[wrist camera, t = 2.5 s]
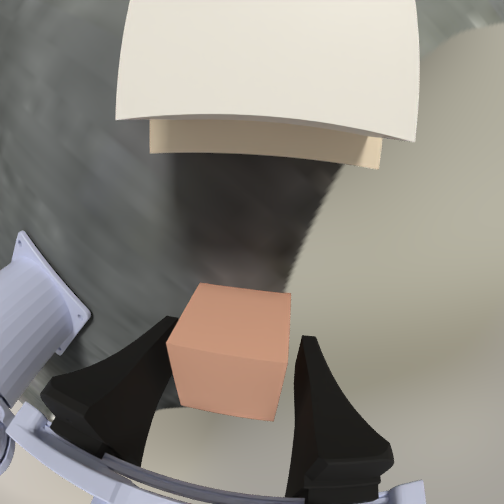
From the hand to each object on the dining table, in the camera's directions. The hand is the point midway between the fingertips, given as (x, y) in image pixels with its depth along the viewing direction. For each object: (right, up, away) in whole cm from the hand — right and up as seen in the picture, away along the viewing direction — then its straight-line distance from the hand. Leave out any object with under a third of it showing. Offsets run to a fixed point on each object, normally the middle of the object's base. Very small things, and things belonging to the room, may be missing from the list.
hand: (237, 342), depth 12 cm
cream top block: (+1, +10, -7) cm, 13 cm away
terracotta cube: (0, +1, +1) cm, 2 cm away
